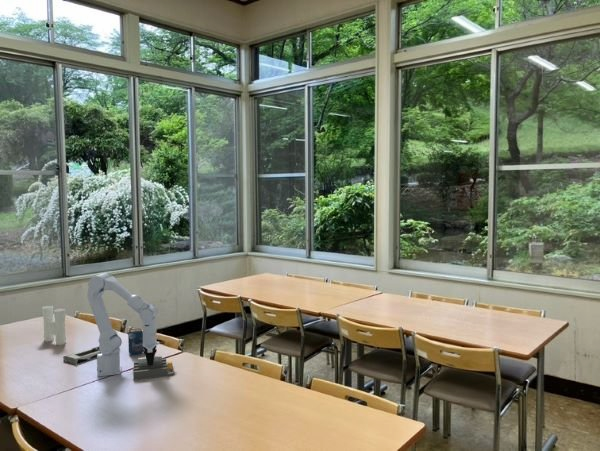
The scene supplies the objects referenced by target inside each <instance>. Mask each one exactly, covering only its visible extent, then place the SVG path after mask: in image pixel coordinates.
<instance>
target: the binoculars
mask: <svg viewBox="0 0 600 451" xmlns="http://www.w3.org/2000/svg"><path fill="white" fill-rule="evenodd" d="M41 310H42V312H41V313H42V319H43V340H44V342H49V341H51V342H52V341H53V340H54V338H55V345H58V346H61V345H65V344H66V343H67V342H66V341H67V338H66V309H65V308H56V309H54V306H53V305H47V306H46V305H45V306H42V308H41Z"/></svg>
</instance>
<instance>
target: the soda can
mask: <svg viewBox="0 0 600 451" xmlns="http://www.w3.org/2000/svg"><path fill="white" fill-rule="evenodd" d="M127 335H128V336H127V337H128V341H127V342H128V354H129V355H130V356H132V357H133V356H134V357H135V356H136V357H139V356H141V355H142V354H144V352H143V350H144V348H143V328H131V329H129V332H128V334H127Z"/></svg>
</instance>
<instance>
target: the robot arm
mask: <svg viewBox="0 0 600 451" xmlns="http://www.w3.org/2000/svg"><path fill="white" fill-rule="evenodd" d="M87 287H88V288H87V296H86V297H87V300H88V303H89V306H90V309H91V310H92V311H91V312H92V314H93V317H94V320H95V323H96V326H97V328H98V331H99V337H98V343H99V345H98V346H99V350H100V352H101V353H100V354H97V358H96V371H97V374H96V375H97V377H106V376H107V377H108V376H113V375H120V374H122V366H121V359H120V358H121V356H120V353H121V352H120V351H121V350H119V348H120V347H121V346H122V344H123V342H122V341H123V340H122V338H121V337H120V335H118V333H117V330H115V329H114V328H113V326H112V322H111V320H110V318H109V317H110V316H109V315H108V314H109V313H108V312H107V308H106V305H105V302H104V300H103V294H104V292H105V291H112V292H114V293H115V294H116V295H118V296H120V297H121V298H123V299H124V300H126V301H127V305H128V306H129V307H130V308H131V309H132V310H133V311H135V312H136V313H137V314H139V317H140V319H141V320H142V332H143V348H144V350H143V354H144V357H146V360H147V364H148V366H149V365H153V362H154V356H156V353H157V351H158V350H157V349H158V348H157V346H158V345H160V341H157V340H158V339H157V317H156V316H157V315H158V312H159V311H158V308H157V307H156V306H155V305H154V304H151V303H150V302H147V301H146V300H144V299H143V298H142V296H141V295H138V294H133V293H131V292H130V291H129V290H128V289H127V288H126V287H125V286H123V284H121V283H120V282H119V281H118V280H117V278H116V277H115V276H113V275H112V274H111V273H109V272H102V273H100V274H97V275H94V276H92V277H91V278H90V279H89V281H88V282H87Z"/></svg>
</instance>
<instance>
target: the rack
mask: <svg viewBox="0 0 600 451" xmlns="http://www.w3.org/2000/svg"><path fill="white" fill-rule="evenodd" d="M132 375H133V381H137V380H145V379H147V380H148V379H154V378H155V379H156V378H162V377H163V378H164V377H169V376H174V375H175V374H174V367H173V360H167V358H162V365H157V366H148V367H138V361H134V362H133V371H132Z"/></svg>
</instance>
